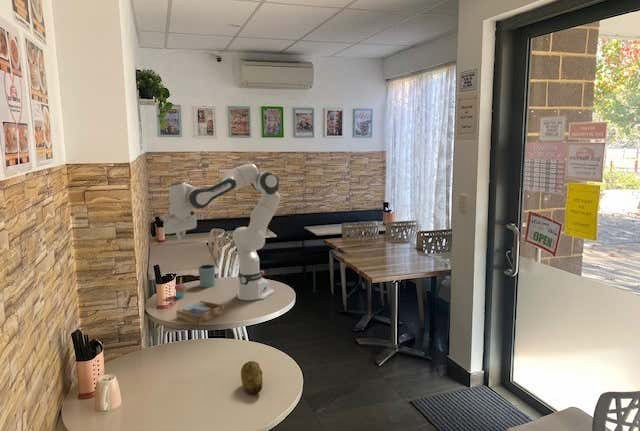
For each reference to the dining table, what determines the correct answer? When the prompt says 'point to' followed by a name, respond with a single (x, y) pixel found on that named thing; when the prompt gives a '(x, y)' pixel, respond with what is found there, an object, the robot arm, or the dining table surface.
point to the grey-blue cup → (207, 275)
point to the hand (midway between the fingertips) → (181, 239)
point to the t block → (197, 309)
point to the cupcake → (180, 289)
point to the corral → (214, 311)
